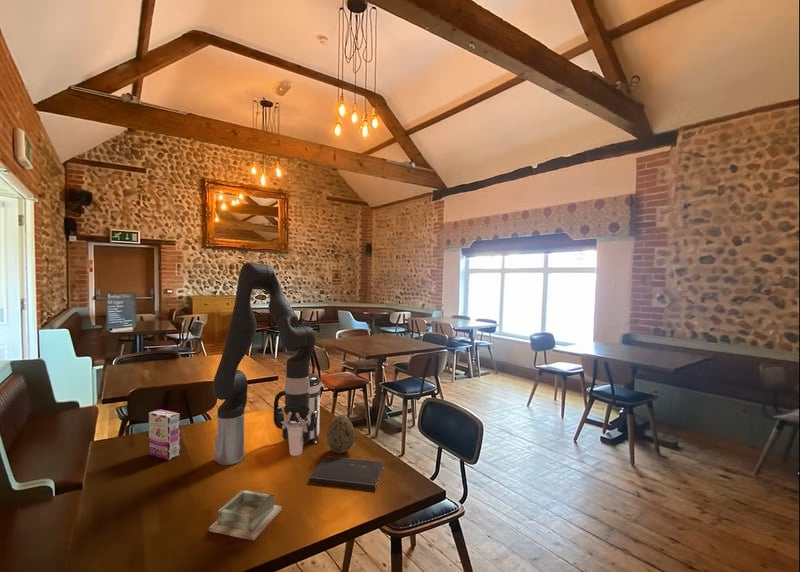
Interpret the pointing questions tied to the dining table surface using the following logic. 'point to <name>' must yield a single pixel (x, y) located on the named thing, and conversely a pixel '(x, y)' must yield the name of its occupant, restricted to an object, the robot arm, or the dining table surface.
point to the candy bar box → (164, 434)
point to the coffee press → (313, 403)
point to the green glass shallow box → (246, 515)
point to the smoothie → (295, 437)
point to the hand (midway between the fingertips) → (296, 440)
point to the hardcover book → (347, 473)
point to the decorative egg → (340, 434)
